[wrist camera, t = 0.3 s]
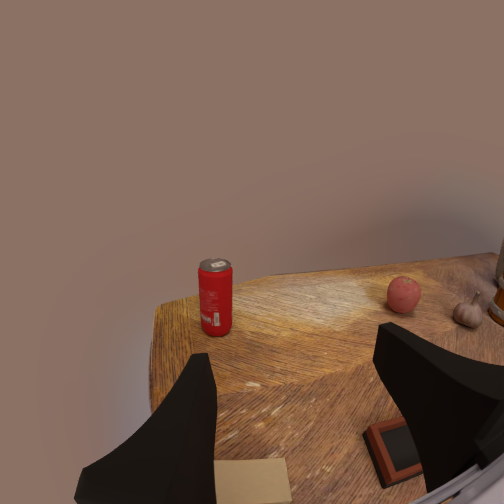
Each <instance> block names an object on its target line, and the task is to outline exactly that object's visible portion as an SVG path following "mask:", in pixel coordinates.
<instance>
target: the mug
mask: <svg viewBox="0 0 504 504" xmlns="http://www.w3.org/2000/svg"><path fill="white" fill-rule="evenodd" d="M489 304H490V308H489V310H488V311H489V314H490V316H491V317H492V318H493V319H494V320H495V321H496V322H498V323H499V324H501V325H504V272H503V275H502V276H501V277H500V278H499V287H498V290H497V293H496V295H495V297H493V298H492V300H491V301H490V302H489Z"/></svg>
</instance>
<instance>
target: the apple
mask: <svg viewBox="0 0 504 504" xmlns="http://www.w3.org/2000/svg"><path fill="white" fill-rule="evenodd" d="M420 296H421V289H420V286H419V285H418V283H417V282H416V281H414V280H413V279H411V278H409V277H397V278H395V279H393V280H392V281H391V282H390V284H389V287H388V291H387V302H388V304H389V306H390V308H391V309H392V310H393V311H395V312H398V313H407V312H409V311H411V310H413V309H414V308H415V306H416V305H417V304H418V302H419V300H420Z"/></svg>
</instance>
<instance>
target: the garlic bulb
mask: <svg viewBox="0 0 504 504" xmlns="http://www.w3.org/2000/svg"><path fill="white" fill-rule="evenodd" d="M479 296H480V292H479V291H477V293H476V295H475V297H474V298H473V300H472V301H469V302H465V303H459V304H458V305H457V306H456V307H455V308H454V311H453V314H454V318H455V320H456V321H457V322H459V323H460V324H465V325H466V326H469V327H471V328H477V327H479V326H480V324H481V318H482V310H481V308H480V305H479V304H478V303H476V302H477V300H478V298H479Z"/></svg>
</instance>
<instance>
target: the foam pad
mask: <svg viewBox="0 0 504 504" xmlns="http://www.w3.org/2000/svg"><path fill="white" fill-rule="evenodd" d="M214 474H215V488H216V500H217V504H290V503H291V501H292V496H291V490H290V485H289V479H288V473H287V468H286V462H285V458H272V459H257V460H214Z"/></svg>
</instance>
